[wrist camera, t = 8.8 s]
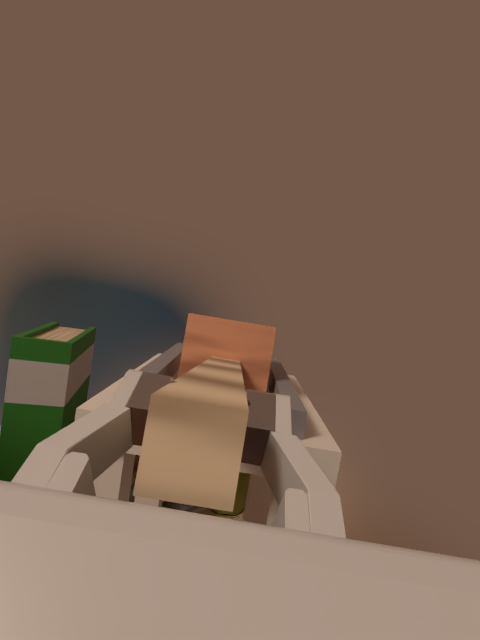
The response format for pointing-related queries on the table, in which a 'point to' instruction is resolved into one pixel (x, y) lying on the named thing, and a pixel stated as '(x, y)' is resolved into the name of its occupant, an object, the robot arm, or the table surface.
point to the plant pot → (238, 495)
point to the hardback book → (42, 389)
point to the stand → (259, 494)
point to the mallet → (204, 414)
